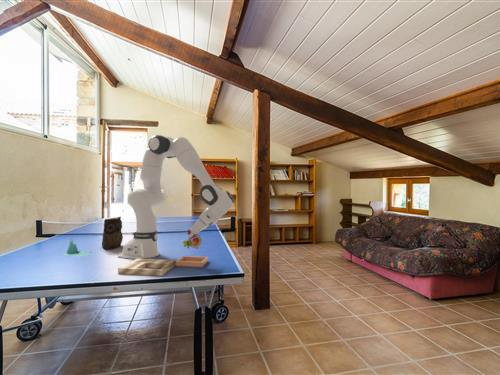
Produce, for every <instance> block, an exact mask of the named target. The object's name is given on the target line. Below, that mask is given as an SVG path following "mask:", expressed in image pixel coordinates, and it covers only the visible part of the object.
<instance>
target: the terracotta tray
mask: <svg viewBox="0 0 500 375" xmlns="http://www.w3.org/2000/svg"><path fill="white" fill-rule="evenodd" d="M208 262H209V256H193V255H189V256H188V255H183V256H181V257H180V258H178V259H177V260H176V262H175V266H174V267H178V268H181V267H182V268H199V269H201V268H204V266H206V264H207V263H208Z"/></svg>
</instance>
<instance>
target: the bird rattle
mask: <svg viewBox="0 0 500 375" xmlns="http://www.w3.org/2000/svg"><path fill="white" fill-rule="evenodd" d="M190 233H191V231H190V229H187V235H188V239H187V240H183V242H182V243H183V247H184V248H186V247H187V250H189V249H190V247H191V248H193V249H199V247H200V246H201V244H202V242H203V241H202V237H201V235H199V234H198V233H196V234H194V235H193V236H192V237H190V236H189V234H190Z"/></svg>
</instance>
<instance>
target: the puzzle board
mask: <svg viewBox="0 0 500 375" xmlns="http://www.w3.org/2000/svg"><path fill="white" fill-rule="evenodd" d="M176 261H177V260H176V259H153V258H144V259H132V261H130V262H128V263H125V264H124V265H121V266H119V267H118V268H117V274H120V275H140V276H141V275H143V276H160V277H161V276H164V275H165V274H166V273H168V272H169V271H170V270H172V268H174V267H175V262H176Z"/></svg>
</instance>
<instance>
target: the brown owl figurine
mask: <svg viewBox="0 0 500 375" xmlns="http://www.w3.org/2000/svg"><path fill="white" fill-rule="evenodd" d="M103 222H104V223H103V232H102V240H101V248H103V249H104V251H105V250H106V251H109V250H110V251H111V250H115V249H118V248H121V246H122V242H123V238H124V236H123V232H122V228H123V222H122V219H121V216H118V217H110V218H105V219H104V221H103Z"/></svg>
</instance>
